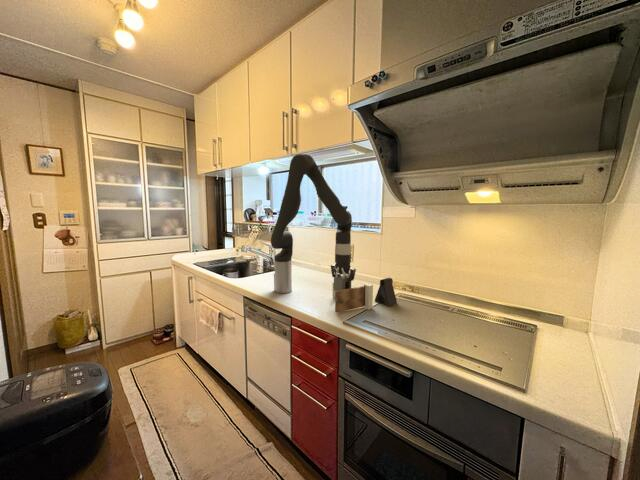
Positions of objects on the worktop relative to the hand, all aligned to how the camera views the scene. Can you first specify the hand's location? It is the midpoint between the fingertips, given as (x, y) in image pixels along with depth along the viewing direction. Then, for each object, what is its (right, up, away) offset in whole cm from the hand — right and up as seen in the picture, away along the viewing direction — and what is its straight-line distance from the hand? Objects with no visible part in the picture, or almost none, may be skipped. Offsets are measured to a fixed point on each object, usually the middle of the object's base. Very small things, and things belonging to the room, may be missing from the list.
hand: (342, 287), depth 123 cm
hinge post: (+12, -9, -4) cm, 15 cm away
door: (+4, -8, -7) cm, 12 cm away
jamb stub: (-3, -7, +9) cm, 12 cm away
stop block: (0, -1, 0) cm, 1 cm away
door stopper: (+21, -8, +3) cm, 23 cm away
